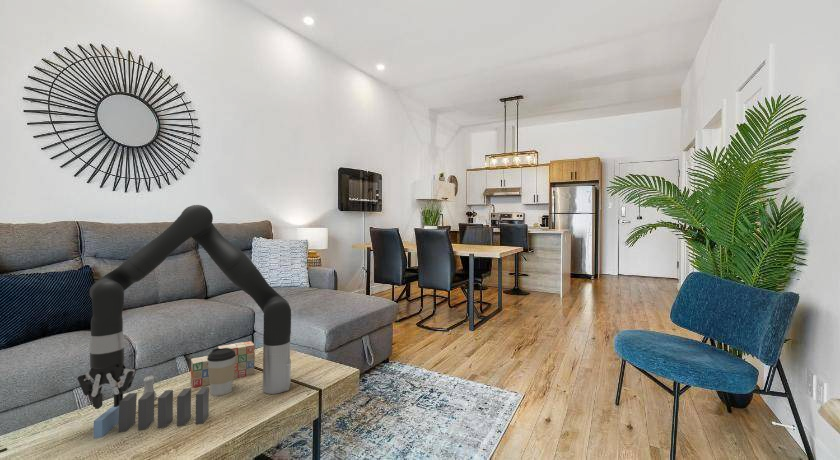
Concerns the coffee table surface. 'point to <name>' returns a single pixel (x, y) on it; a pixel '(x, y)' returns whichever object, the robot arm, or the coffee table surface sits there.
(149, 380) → the rook chess piece
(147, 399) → the domino
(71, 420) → the coffee table surface
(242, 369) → the stack of blocks
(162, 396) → the domino
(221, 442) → the coffee table surface
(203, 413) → the domino
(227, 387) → the coffee cup
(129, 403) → the domino
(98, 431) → the tile
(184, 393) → the domino
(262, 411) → the coffee table surface
